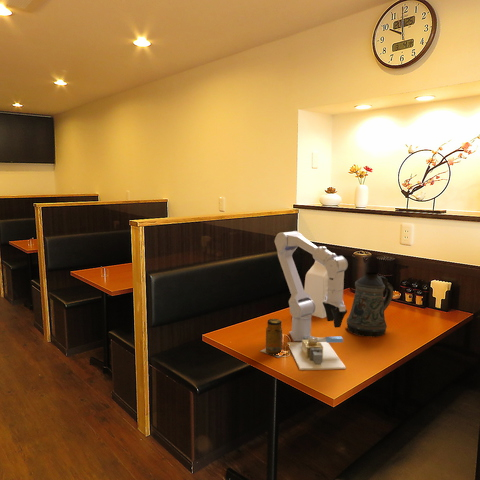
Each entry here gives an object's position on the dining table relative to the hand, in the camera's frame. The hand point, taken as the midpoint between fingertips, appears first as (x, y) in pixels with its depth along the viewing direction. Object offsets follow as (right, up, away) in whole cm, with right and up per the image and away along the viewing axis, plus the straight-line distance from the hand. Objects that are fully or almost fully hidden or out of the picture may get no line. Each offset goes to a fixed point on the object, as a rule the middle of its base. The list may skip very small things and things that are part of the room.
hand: (333, 323), depth 154 cm
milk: (+3, -4, +45) cm, 45 cm away
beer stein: (+20, -7, +24) cm, 32 cm away
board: (-8, -11, -3) cm, 14 cm away
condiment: (-22, -11, -1) cm, 25 cm away
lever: (-4, -6, -4) cm, 8 cm away
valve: (-9, -11, -4) cm, 15 cm away
